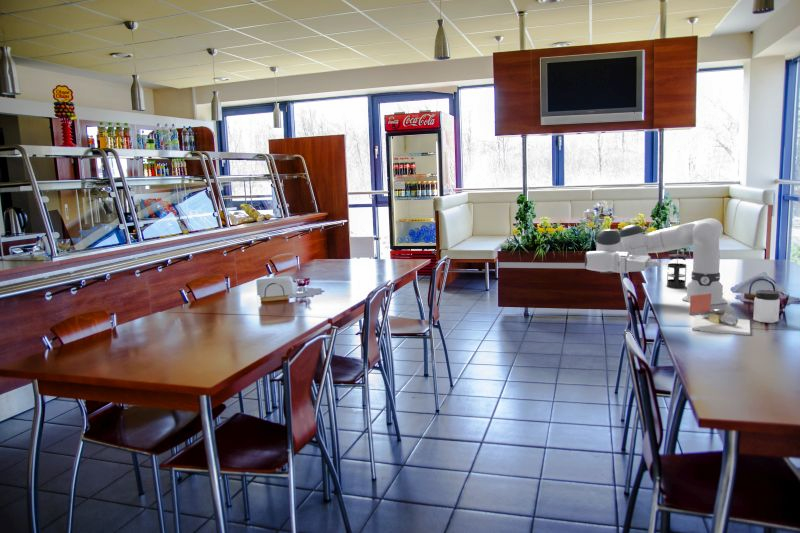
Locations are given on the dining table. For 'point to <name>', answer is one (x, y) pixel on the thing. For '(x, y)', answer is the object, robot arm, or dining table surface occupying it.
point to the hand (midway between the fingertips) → (660, 263)
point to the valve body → (721, 318)
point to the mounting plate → (721, 326)
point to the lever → (702, 305)
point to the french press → (676, 272)
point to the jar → (766, 306)
